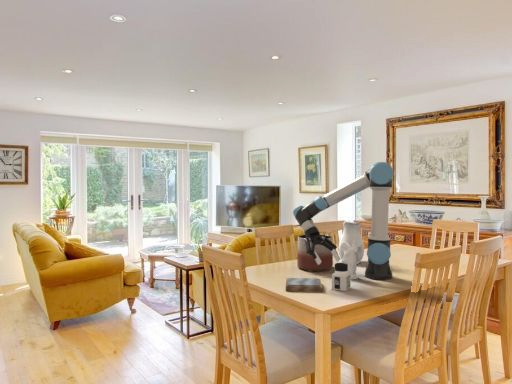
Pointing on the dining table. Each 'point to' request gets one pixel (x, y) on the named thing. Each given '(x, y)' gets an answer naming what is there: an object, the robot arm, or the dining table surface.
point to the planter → (308, 261)
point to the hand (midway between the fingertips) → (329, 261)
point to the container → (341, 277)
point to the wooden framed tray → (303, 284)
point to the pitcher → (352, 237)
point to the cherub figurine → (350, 257)
